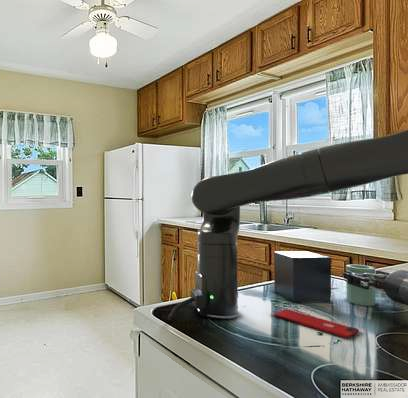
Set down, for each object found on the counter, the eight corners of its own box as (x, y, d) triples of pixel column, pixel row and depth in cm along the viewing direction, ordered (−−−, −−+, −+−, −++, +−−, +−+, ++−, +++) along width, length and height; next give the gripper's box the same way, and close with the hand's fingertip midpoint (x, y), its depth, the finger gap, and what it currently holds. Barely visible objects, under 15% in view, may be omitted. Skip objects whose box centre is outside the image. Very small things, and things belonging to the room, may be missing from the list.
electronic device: (273, 315, 76) (347, 338, 63) (273, 313, 76) (347, 335, 63) (286, 310, 79) (359, 331, 66) (286, 308, 79) (359, 329, 66)
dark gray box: (293, 302, 86) (293, 257, 86) (274, 291, 96) (274, 251, 96) (337, 302, 86) (336, 257, 86) (313, 291, 96) (313, 251, 96)
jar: (358, 305, 83) (357, 269, 83) (341, 298, 89) (341, 264, 89) (381, 305, 83) (381, 269, 83) (363, 298, 89) (362, 264, 89)
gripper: (451, 274, 70) (387, 260, 86) (385, 274, 70) (333, 260, 86) (451, 308, 70) (387, 287, 86) (385, 308, 70) (333, 288, 86)
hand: (360, 274), depth 86 cm, fingers open, 8 cm apart
